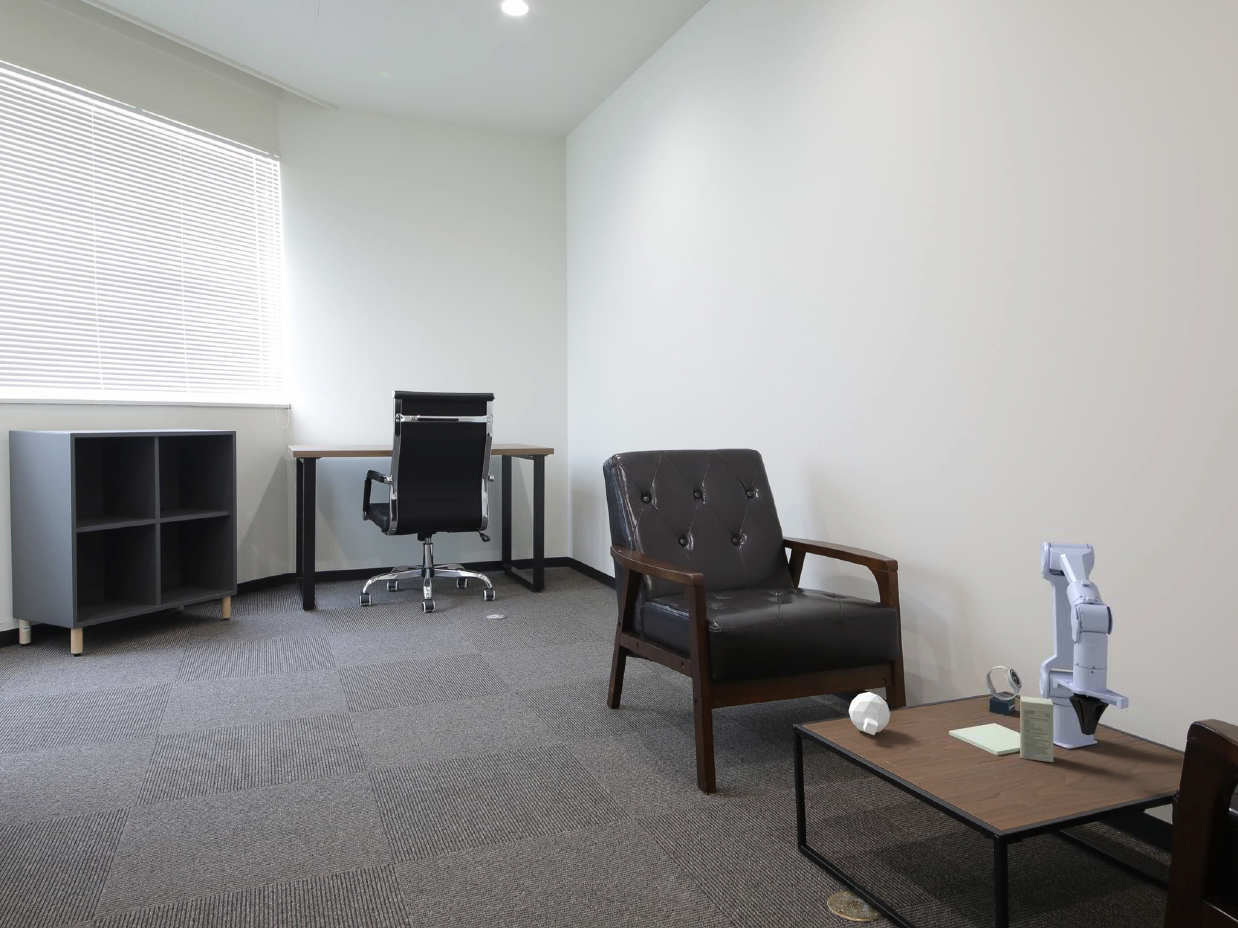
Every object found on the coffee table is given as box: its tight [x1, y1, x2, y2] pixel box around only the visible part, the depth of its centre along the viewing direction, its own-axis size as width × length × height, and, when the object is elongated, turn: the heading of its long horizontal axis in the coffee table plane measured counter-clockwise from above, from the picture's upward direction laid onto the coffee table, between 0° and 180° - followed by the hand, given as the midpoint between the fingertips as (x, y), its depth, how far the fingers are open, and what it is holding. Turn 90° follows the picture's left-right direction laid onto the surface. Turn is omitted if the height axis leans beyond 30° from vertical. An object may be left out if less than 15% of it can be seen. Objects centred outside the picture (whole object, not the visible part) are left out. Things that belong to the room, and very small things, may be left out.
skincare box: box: [1019, 695, 1054, 763], centre depth 170 cm, size 6×4×12 cm
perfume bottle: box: [848, 691, 891, 736], centre depth 182 cm, size 9×9×12 cm
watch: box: [984, 665, 1023, 717], centre depth 199 cm, size 6×8×11 cm
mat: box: [948, 722, 1020, 756], centre depth 179 cm, size 14×13×1 cm
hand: (1088, 733), depth 159 cm, fingers closed
